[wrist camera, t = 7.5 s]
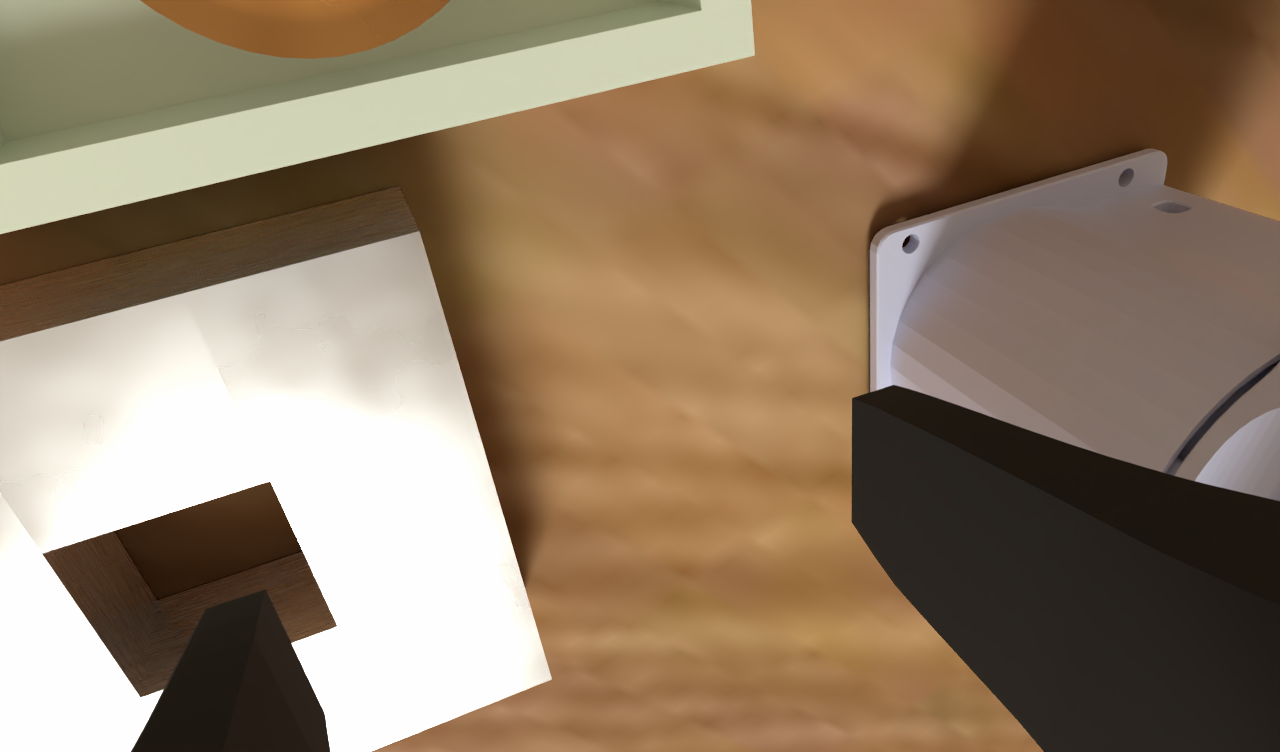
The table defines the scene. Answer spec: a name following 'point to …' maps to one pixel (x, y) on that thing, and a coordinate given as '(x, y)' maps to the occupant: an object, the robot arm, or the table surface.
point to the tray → (299, 89)
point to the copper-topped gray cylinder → (299, 23)
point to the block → (252, 478)
